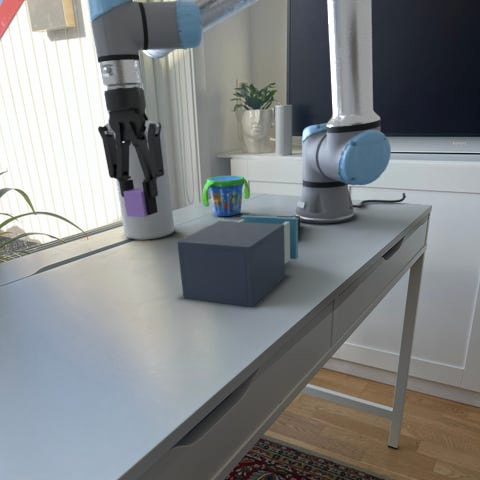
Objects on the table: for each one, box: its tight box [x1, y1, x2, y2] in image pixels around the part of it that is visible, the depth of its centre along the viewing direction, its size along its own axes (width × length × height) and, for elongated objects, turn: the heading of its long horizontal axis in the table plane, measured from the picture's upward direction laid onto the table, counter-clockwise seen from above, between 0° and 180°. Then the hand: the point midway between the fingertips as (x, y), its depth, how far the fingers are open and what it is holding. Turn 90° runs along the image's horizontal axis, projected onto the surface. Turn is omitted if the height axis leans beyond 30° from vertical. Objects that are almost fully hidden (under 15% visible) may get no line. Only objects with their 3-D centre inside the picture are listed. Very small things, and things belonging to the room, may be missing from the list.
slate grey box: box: [176, 220, 286, 308], centre depth 81 cm, size 15×13×10 cm
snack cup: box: [201, 175, 251, 217], centre depth 136 cm, size 16×10×10 cm
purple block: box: [123, 188, 149, 217], centre depth 98 cm, size 4×4×5 cm
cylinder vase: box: [113, 125, 175, 241], centre depth 116 cm, size 12×12×25 cm
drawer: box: [236, 214, 299, 264], centre depth 91 cm, size 19×11×8 cm, turn 155°
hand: (142, 212), depth 99 cm, fingers closed on purple block, 4 cm apart
